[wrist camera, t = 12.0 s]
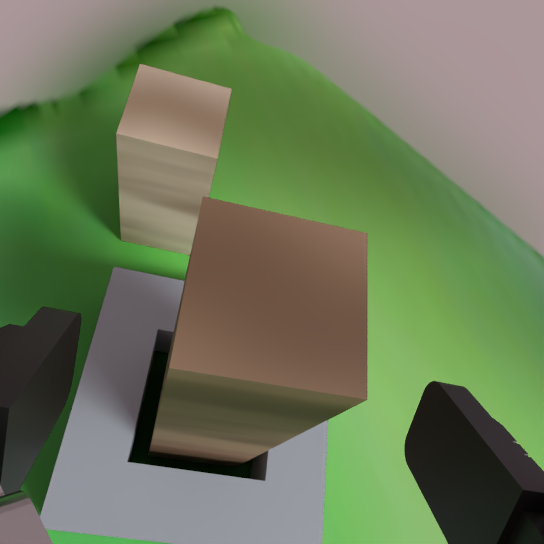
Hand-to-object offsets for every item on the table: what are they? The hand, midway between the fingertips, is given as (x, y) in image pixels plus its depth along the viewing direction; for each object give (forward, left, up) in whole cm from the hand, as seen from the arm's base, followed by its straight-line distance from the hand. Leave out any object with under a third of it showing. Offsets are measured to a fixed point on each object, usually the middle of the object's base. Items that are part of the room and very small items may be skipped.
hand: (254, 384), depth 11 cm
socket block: (0, -1, -12) cm, 12 cm away
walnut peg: (0, -1, -12) cm, 12 cm away
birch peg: (0, -12, -12) cm, 17 cm away
